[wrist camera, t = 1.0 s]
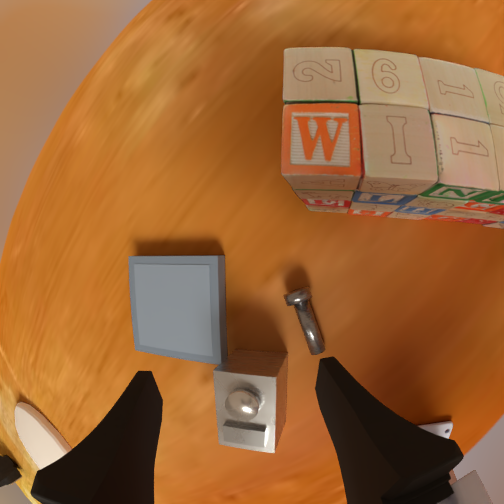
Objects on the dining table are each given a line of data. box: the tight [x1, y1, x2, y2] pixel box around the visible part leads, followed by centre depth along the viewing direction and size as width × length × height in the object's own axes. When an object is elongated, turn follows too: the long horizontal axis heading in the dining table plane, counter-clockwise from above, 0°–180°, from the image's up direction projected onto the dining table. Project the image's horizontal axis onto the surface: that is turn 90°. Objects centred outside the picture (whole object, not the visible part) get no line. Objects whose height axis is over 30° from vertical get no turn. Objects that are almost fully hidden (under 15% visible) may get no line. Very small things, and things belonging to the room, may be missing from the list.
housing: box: [213, 349, 288, 453], centre depth 21 cm, size 7×4×6 cm, turn 1°
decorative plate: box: [15, 402, 72, 470], centre depth 34 cm, size 25×4×25 cm
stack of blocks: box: [281, 47, 504, 229], centre depth 13 cm, size 21×6×12 cm, turn 87°
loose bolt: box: [283, 286, 325, 355], centre depth 21 cm, size 5×2×2 cm, turn 21°
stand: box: [129, 255, 228, 365], centre depth 24 cm, size 9×9×2 cm
